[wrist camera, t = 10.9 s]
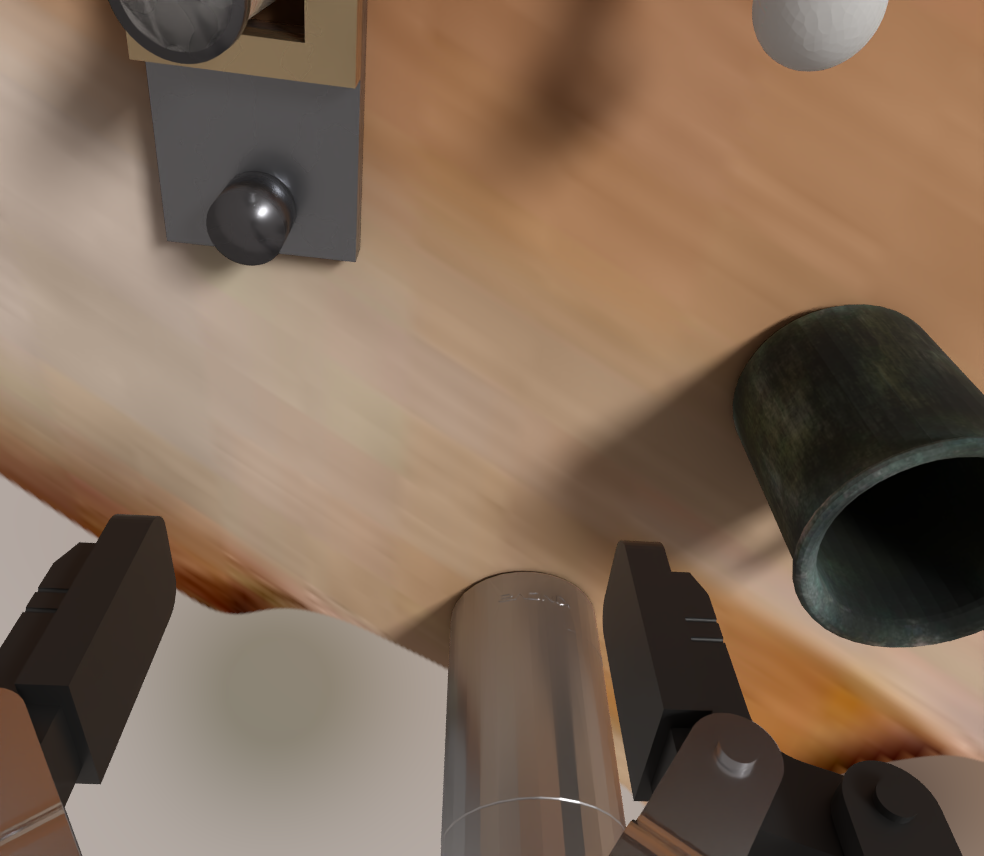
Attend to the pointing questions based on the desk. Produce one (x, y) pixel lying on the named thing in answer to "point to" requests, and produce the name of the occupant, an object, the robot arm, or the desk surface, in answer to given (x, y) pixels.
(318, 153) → the two-tone base plate
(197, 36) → the pin
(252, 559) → the desk surface
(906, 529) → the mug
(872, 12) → the molecular model
